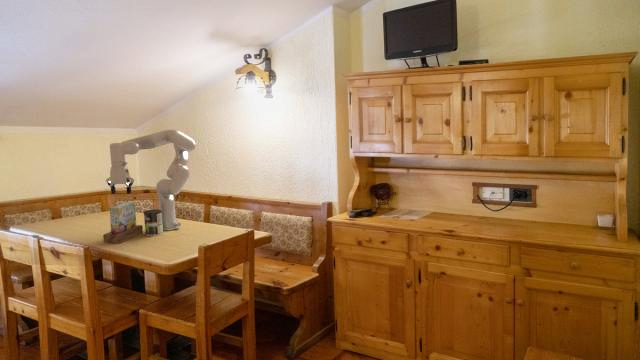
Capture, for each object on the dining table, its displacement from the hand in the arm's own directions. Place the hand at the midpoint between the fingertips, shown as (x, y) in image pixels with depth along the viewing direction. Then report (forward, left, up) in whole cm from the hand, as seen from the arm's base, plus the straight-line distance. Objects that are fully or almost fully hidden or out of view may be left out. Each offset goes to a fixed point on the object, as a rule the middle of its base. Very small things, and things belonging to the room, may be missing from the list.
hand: (121, 193), depth 264 cm
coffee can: (-13, -11, -27) cm, 31 cm away
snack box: (0, 0, -22) cm, 22 cm away
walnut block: (0, 0, -26) cm, 26 cm away
